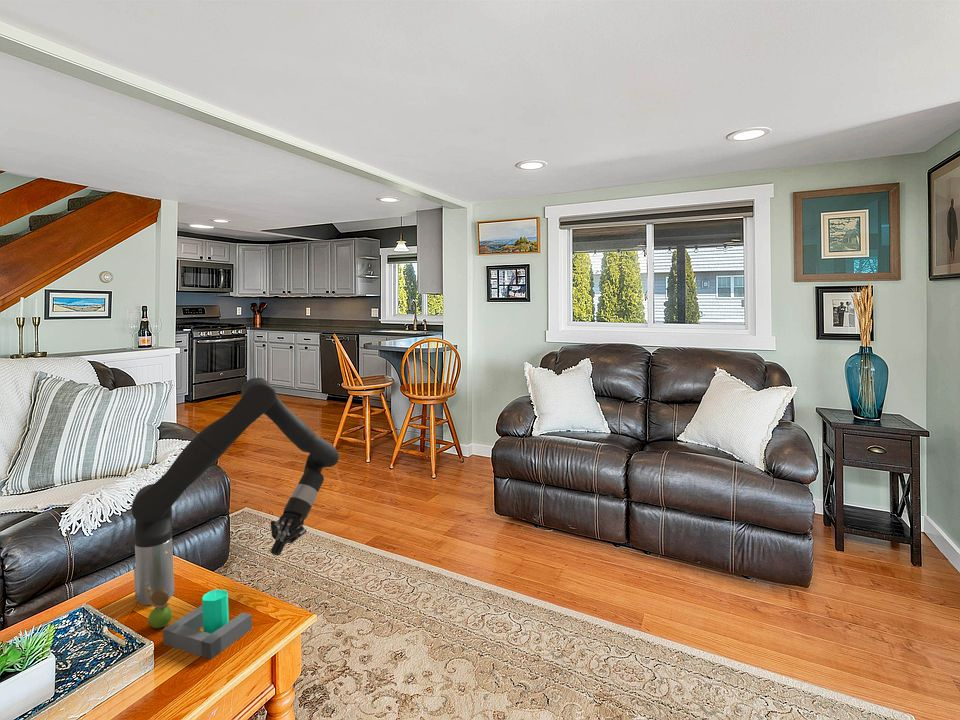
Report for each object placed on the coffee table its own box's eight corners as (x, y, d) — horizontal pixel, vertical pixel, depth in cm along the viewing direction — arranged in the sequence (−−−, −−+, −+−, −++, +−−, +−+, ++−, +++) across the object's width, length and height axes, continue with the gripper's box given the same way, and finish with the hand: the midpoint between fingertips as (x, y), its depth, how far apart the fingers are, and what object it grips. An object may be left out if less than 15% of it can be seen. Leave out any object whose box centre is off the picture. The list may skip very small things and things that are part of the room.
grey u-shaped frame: (163, 644, 130) (162, 629, 130) (206, 616, 142) (206, 602, 142) (211, 659, 125) (210, 643, 124) (251, 629, 137) (251, 614, 137)
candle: (220, 640, 132) (219, 596, 131) (198, 639, 132) (196, 594, 131) (233, 626, 138) (232, 583, 137) (212, 625, 138) (210, 582, 137)
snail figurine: (153, 619, 140) (151, 577, 139) (176, 620, 140) (175, 578, 139) (140, 632, 135) (138, 588, 134) (164, 632, 135) (162, 589, 134)
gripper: (278, 493, 165) (250, 546, 154) (312, 499, 160) (285, 553, 150) (290, 503, 170) (263, 555, 160) (323, 509, 166) (298, 563, 155)
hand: (274, 554), depth 155 cm, fingers closed
